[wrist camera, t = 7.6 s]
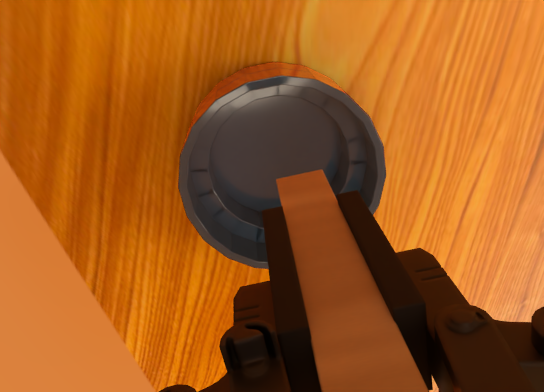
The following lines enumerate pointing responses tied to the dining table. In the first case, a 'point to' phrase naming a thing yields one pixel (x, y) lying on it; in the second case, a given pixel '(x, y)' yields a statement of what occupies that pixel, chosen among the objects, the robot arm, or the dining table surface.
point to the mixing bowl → (271, 152)
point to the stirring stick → (342, 296)
